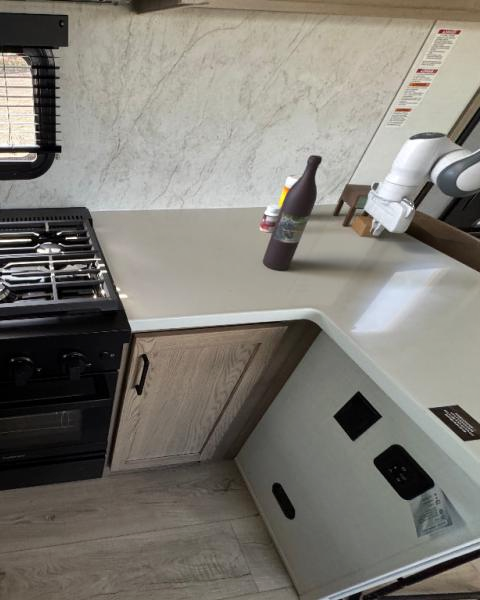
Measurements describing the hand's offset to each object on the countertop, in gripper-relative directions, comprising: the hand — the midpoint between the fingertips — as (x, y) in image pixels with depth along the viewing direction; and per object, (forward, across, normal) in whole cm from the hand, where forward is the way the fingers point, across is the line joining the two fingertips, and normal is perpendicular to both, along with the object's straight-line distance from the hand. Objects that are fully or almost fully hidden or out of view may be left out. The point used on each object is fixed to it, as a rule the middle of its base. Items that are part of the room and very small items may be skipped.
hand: (374, 233), depth 112 cm
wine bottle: (+2, -24, +34) cm, 42 cm away
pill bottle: (+2, +1, +32) cm, 32 cm away
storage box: (+2, +6, 0) cm, 6 cm away
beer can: (+2, +13, +24) cm, 27 cm away
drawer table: (+2, +15, -1) cm, 15 cm away
